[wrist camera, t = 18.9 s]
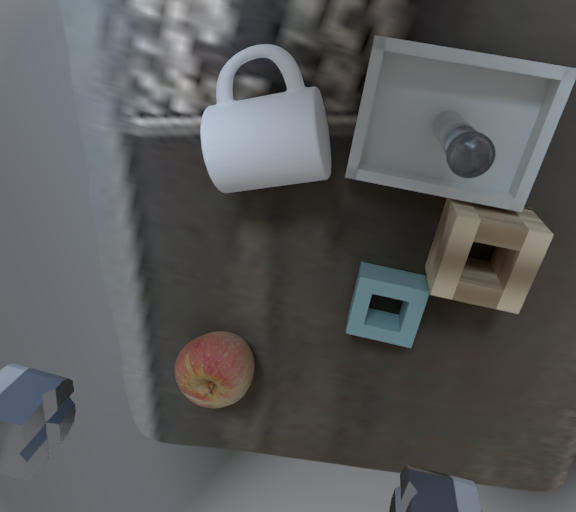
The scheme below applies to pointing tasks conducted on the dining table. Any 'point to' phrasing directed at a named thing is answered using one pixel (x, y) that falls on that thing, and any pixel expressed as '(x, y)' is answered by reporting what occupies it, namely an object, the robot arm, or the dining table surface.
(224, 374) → the apple
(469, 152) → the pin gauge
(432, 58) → the tray
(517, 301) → the beech block
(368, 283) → the stand
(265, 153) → the mug
